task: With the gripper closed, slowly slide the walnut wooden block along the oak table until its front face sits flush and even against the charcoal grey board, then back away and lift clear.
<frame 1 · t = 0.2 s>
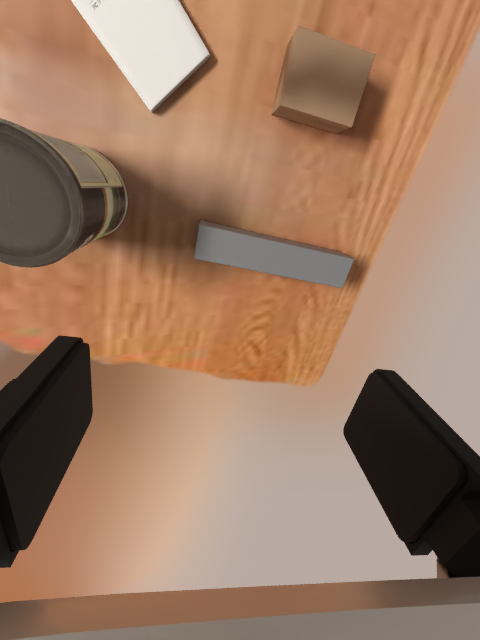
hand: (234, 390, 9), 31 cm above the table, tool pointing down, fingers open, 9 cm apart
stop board: (269, 250, 38), on the table
external hard drive: (139, 23, 27), on the table
walnut block: (311, 93, 31), on the table
coffee can: (84, 193, 33), on the table
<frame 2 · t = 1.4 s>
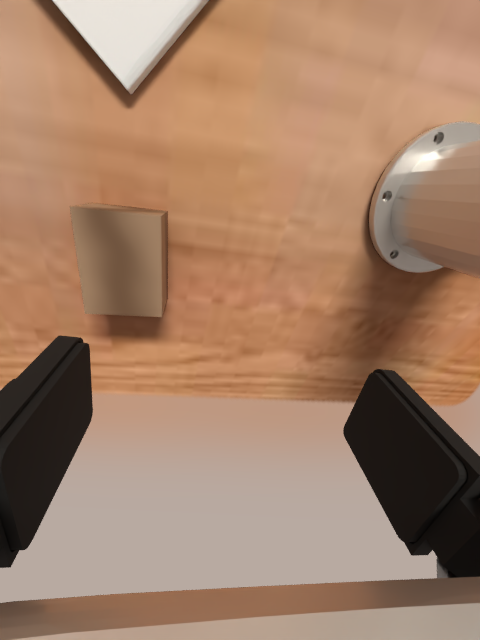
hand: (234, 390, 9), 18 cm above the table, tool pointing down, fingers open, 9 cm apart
walnut block: (133, 254, 25), on the table
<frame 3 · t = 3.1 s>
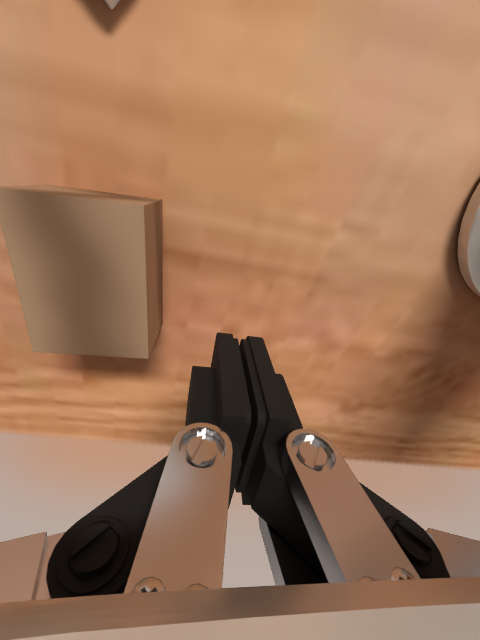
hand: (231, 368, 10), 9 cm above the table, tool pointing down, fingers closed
walnut block: (114, 262, 17), on the table
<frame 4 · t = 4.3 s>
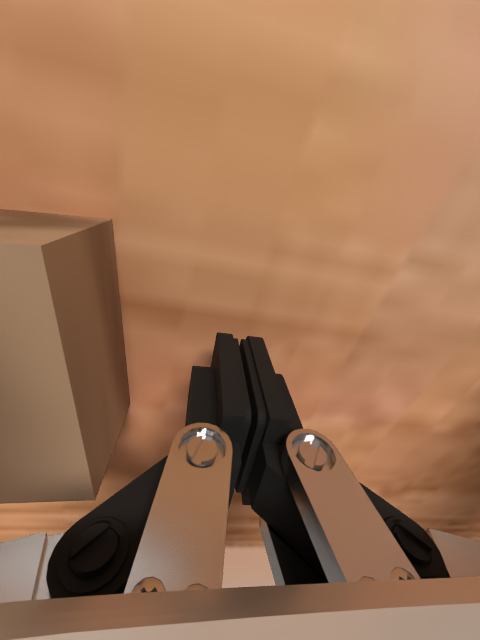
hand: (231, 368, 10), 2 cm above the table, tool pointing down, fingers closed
walnut block: (42, 320, 11), on the table
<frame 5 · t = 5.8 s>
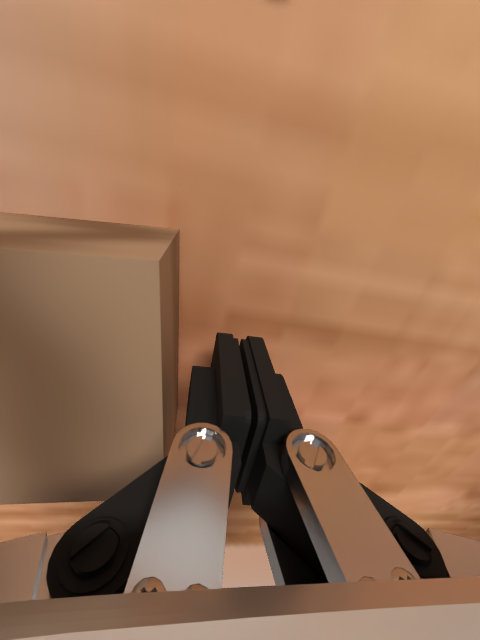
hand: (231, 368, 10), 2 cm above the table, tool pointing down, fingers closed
walnut block: (102, 325, 11), on the table, touching gripper
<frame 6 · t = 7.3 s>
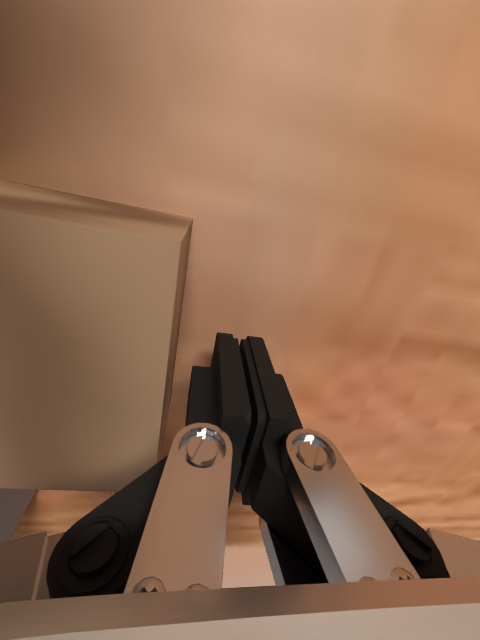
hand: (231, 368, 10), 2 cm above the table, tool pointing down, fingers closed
walnut block: (102, 309, 11), on the table
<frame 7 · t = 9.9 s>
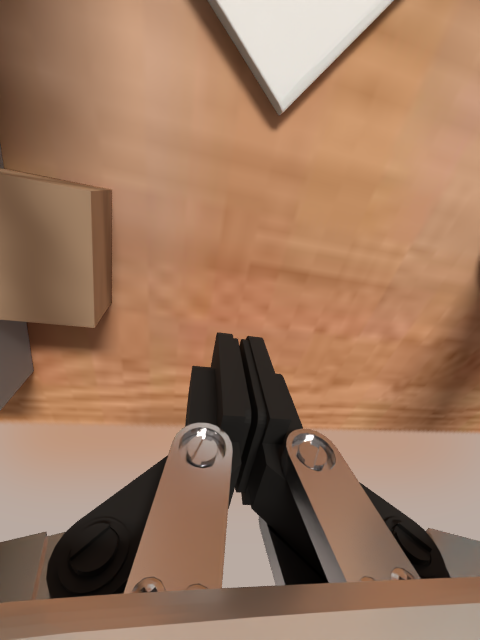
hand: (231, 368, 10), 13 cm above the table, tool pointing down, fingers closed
walnut block: (66, 243, 19), on the table
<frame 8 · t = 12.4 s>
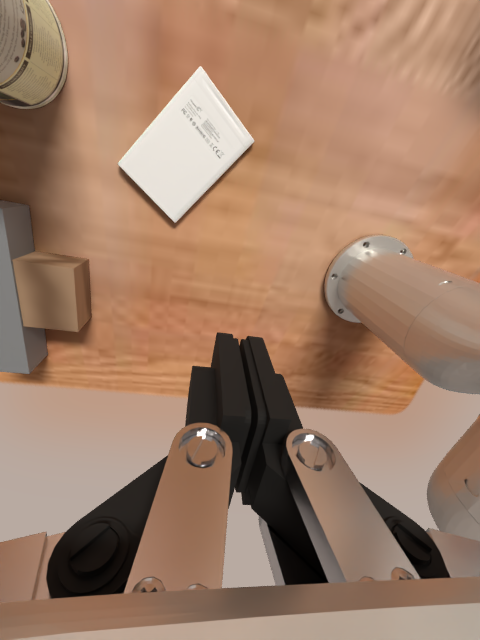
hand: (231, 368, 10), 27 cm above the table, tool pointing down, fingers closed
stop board: (21, 286, 35), on the table
external hard drive: (187, 153, 31), on the table
walnut block: (65, 285, 35), on the table
coffee can: (9, 41, 25), on the table
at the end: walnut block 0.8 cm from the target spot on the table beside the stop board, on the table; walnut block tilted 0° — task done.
